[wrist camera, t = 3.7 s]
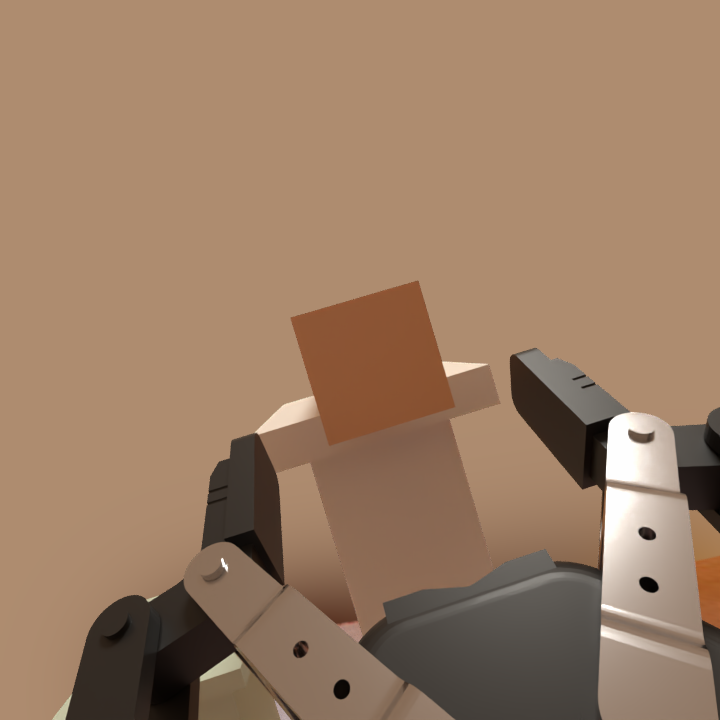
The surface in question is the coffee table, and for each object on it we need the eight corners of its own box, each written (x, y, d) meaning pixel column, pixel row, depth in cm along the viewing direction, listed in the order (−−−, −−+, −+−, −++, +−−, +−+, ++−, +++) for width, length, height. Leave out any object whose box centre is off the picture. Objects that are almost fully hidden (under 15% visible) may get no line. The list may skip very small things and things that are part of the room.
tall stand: (665, 971, 23) (489, 364, 22) (440, 1058, 22) (250, 437, 21) (539, 736, 37) (428, 360, 36) (399, 785, 36) (283, 404, 35)
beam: (455, 406, 14) (418, 280, 14) (328, 445, 13) (290, 317, 13) (380, 375, 36) (366, 326, 36) (332, 389, 35) (317, 341, 35)
